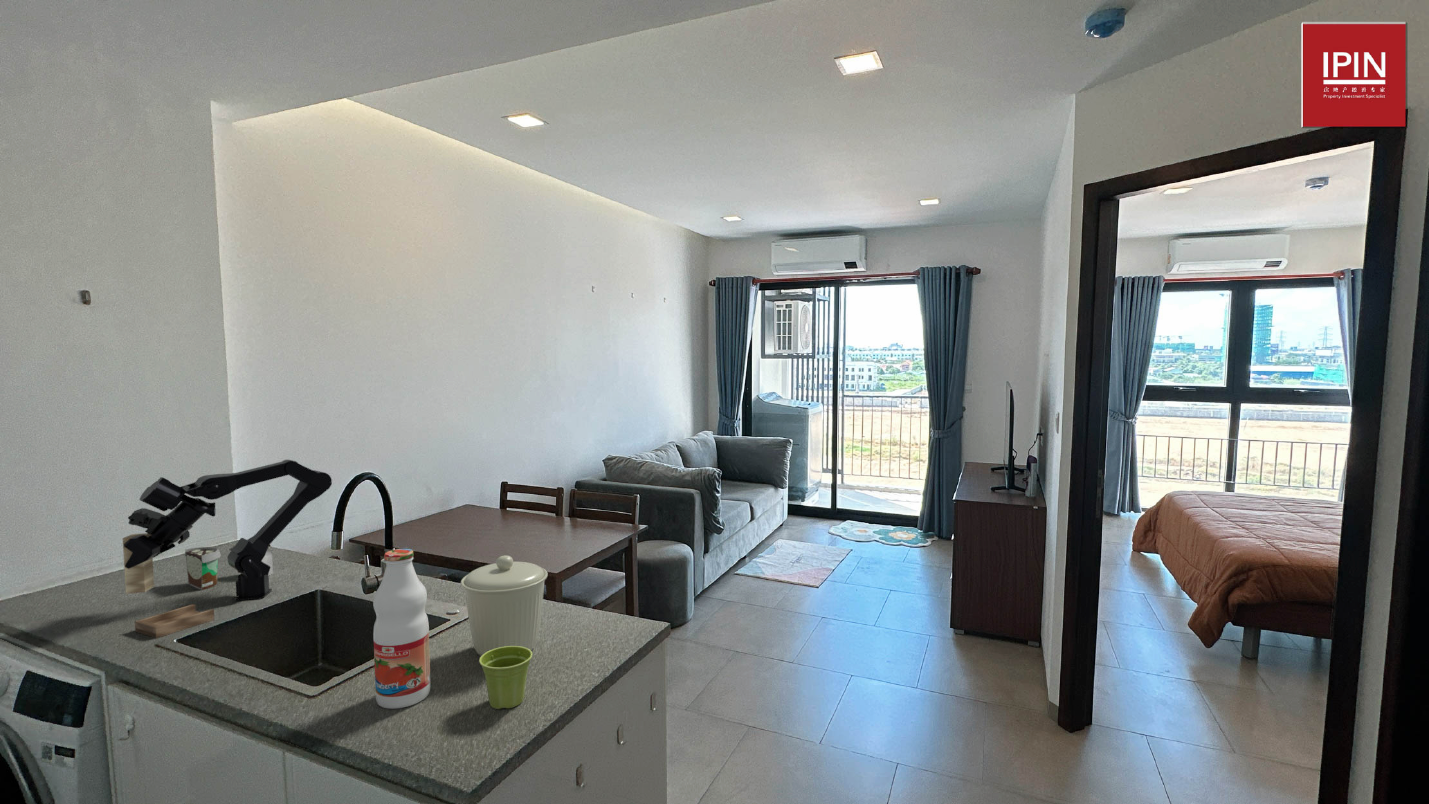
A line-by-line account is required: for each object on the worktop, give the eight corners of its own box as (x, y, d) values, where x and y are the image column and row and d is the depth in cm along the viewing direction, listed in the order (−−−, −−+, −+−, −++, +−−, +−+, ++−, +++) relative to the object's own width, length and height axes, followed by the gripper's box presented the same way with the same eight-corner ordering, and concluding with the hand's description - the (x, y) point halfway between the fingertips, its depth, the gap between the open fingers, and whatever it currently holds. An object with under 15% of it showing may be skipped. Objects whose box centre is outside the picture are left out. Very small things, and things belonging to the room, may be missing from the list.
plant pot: (511, 684, 128) (510, 641, 128) (543, 698, 123) (542, 653, 122) (469, 704, 121) (468, 659, 120) (502, 720, 115) (501, 672, 115)
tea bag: (256, 572, 198) (255, 539, 197) (273, 574, 196) (271, 541, 195) (244, 576, 195) (242, 543, 194) (261, 578, 193) (259, 544, 192)
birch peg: (154, 586, 167) (151, 532, 166) (145, 592, 163) (142, 536, 162) (135, 588, 166) (132, 534, 165) (125, 593, 162) (122, 538, 161)
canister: (461, 641, 148) (458, 550, 147) (542, 627, 155) (540, 541, 154) (464, 675, 132) (461, 573, 130) (555, 659, 139) (553, 562, 138)
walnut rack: (193, 613, 165) (192, 604, 165) (214, 619, 161) (213, 609, 161) (135, 631, 154) (134, 621, 154) (156, 638, 150) (155, 627, 150)
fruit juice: (440, 686, 127) (436, 546, 126) (410, 712, 118) (405, 560, 116) (397, 683, 129) (392, 543, 127) (364, 707, 120) (358, 558, 118)
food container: (229, 584, 187) (228, 550, 186) (204, 591, 182) (202, 555, 181) (211, 577, 193) (209, 544, 193) (186, 583, 188) (184, 549, 188)
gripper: (173, 490, 173) (126, 534, 171) (131, 505, 155) (77, 554, 153) (209, 518, 175) (163, 561, 173) (172, 535, 157) (120, 584, 155)
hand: (132, 564), depth 163 cm, fingers closed on birch peg, 4 cm apart
